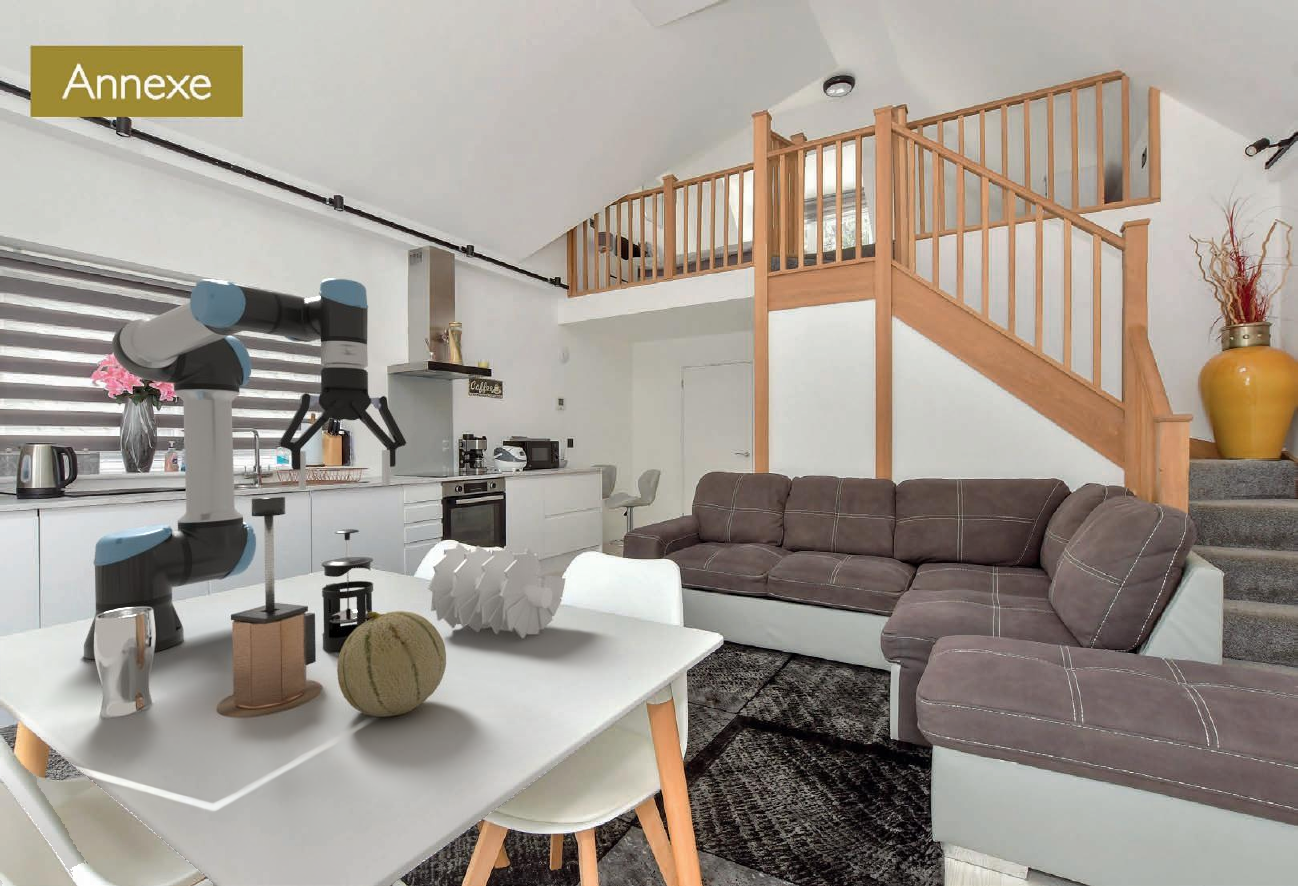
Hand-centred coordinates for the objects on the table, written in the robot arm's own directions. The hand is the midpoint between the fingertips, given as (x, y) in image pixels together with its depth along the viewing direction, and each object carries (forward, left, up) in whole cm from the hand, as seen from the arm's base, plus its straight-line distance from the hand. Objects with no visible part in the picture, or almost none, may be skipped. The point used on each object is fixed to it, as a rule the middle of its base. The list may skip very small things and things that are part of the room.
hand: (345, 487), depth 109 cm
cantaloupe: (+22, -13, -32) cm, 41 cm away
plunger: (+1, -16, -21) cm, 26 cm away
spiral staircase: (+14, +25, -32) cm, 43 cm away
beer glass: (-16, -26, -32) cm, 44 cm away
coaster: (+1, -16, -32) cm, 35 cm away
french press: (-8, +7, -32) cm, 34 cm away
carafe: (+1, -14, -31) cm, 34 cm away
